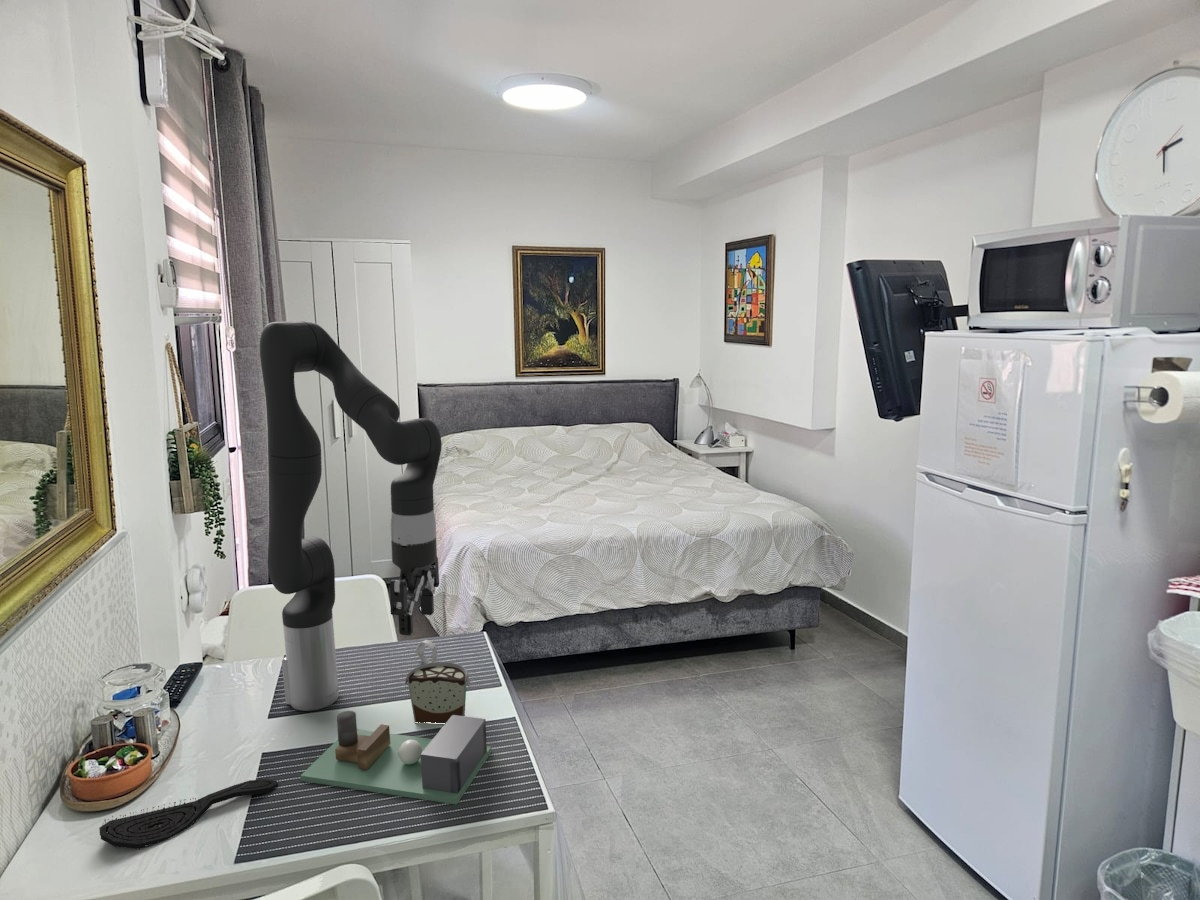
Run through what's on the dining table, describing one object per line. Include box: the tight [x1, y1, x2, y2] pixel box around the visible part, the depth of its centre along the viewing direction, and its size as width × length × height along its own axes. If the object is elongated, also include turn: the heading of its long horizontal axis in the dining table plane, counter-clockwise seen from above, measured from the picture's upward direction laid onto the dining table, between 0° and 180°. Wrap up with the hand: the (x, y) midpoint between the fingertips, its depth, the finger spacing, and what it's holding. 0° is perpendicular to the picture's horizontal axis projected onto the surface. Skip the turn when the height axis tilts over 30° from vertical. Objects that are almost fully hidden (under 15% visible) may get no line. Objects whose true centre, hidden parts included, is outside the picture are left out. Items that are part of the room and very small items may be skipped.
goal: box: [420, 715, 488, 794], centre depth 132 cm, size 6×12×6 cm, turn 166°
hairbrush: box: [99, 778, 279, 850], centre depth 123 cm, size 8×4×25 cm
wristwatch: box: [414, 639, 438, 664], centre depth 172 cm, size 3×5×5 cm, turn 54°
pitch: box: [300, 728, 492, 805], centre depth 135 cm, size 28×15×1 cm, turn 76°
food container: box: [404, 661, 471, 723], centre depth 150 cm, size 12×6×10 cm, turn 84°
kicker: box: [335, 710, 391, 770], centre depth 136 cm, size 7×8×7 cm
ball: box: [398, 739, 422, 765], centre depth 134 cm, size 4×4×4 cm
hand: (417, 624), depth 137 cm, fingers open, 8 cm apart
